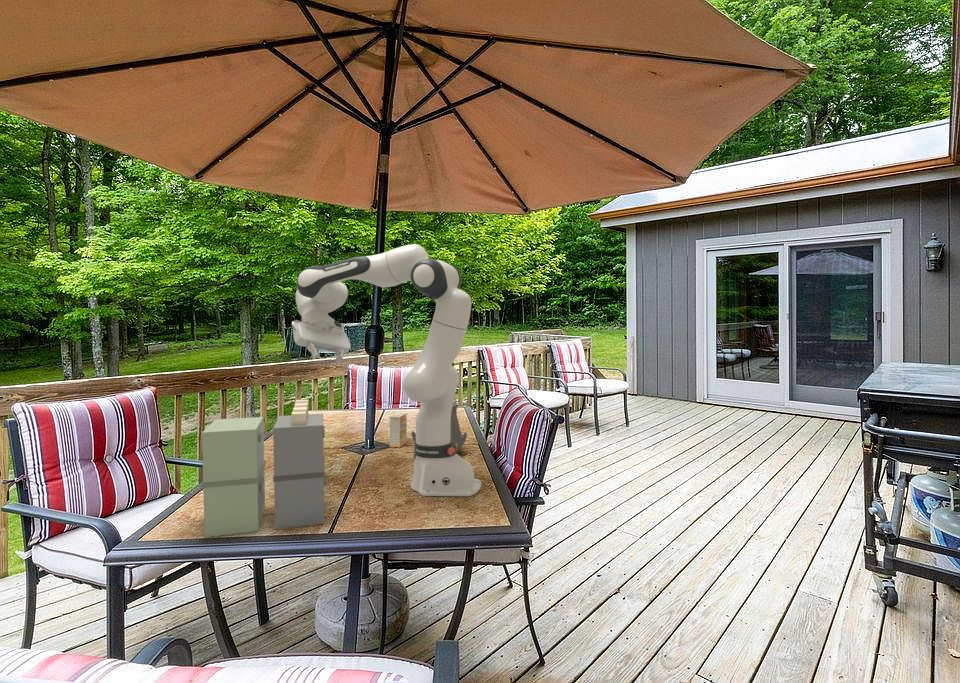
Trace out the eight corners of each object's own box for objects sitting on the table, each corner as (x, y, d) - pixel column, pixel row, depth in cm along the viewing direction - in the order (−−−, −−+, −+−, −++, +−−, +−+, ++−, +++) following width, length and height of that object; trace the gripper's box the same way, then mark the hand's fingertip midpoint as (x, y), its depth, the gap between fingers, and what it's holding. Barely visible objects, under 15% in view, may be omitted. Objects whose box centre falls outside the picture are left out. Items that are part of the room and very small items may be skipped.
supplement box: (400, 448, 204) (400, 416, 204) (389, 447, 205) (389, 416, 205) (407, 443, 212) (407, 412, 212) (396, 442, 213) (396, 412, 213)
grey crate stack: (279, 506, 141) (277, 416, 140) (325, 501, 145) (324, 413, 144) (273, 529, 126) (271, 428, 124) (325, 523, 129) (324, 425, 128)
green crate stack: (217, 512, 136) (214, 419, 135) (266, 507, 140) (264, 416, 139) (203, 538, 121) (200, 432, 119) (259, 531, 125) (257, 429, 123)
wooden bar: (296, 409, 150) (296, 399, 149) (308, 409, 151) (308, 399, 151) (291, 425, 128) (291, 413, 128) (306, 424, 129) (305, 413, 129)
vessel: (462, 444, 210) (462, 397, 209) (469, 459, 188) (469, 407, 187) (411, 446, 207) (411, 399, 206) (411, 461, 185) (411, 408, 184)
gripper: (296, 312, 156) (307, 347, 149) (346, 325, 172) (358, 357, 166) (284, 324, 158) (295, 359, 152) (335, 336, 174) (347, 368, 168)
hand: (328, 358), depth 159 cm, fingers open, 8 cm apart
